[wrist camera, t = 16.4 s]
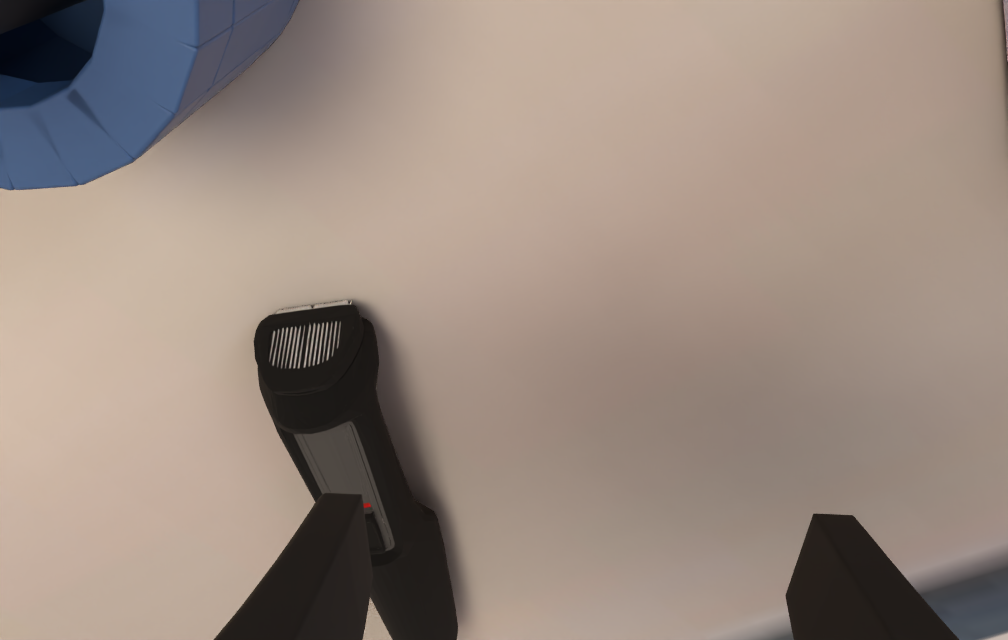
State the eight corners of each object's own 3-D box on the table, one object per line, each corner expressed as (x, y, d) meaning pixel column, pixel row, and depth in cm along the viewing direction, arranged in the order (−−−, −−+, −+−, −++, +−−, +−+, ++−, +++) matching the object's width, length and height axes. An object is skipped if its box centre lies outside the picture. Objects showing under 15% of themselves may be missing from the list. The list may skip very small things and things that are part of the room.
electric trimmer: (391, 617, 31) (376, 691, 29) (253, 311, 23) (215, 378, 20) (479, 611, 31) (473, 686, 28) (372, 295, 22) (349, 361, 20)
